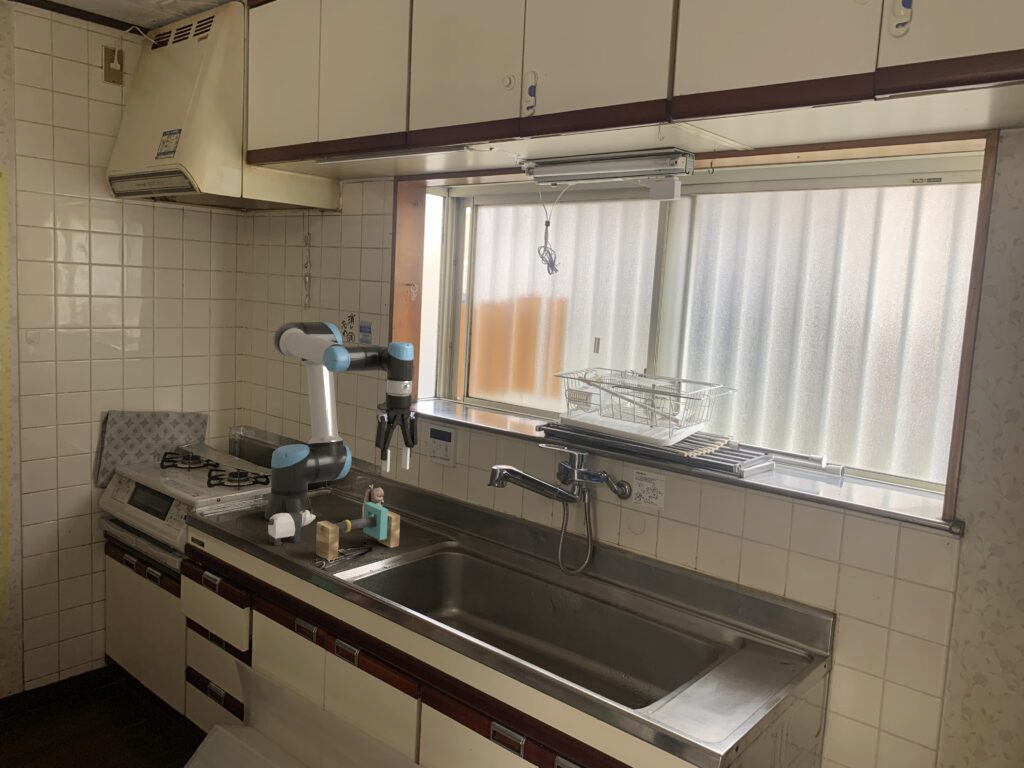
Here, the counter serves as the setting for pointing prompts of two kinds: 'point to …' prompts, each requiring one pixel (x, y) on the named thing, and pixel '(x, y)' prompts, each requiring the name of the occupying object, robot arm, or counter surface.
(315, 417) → the robot arm
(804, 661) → the counter surface
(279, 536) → the giant panda
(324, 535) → the pipe stand
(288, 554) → the counter surface
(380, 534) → the collar
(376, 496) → the toy
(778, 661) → the counter surface
